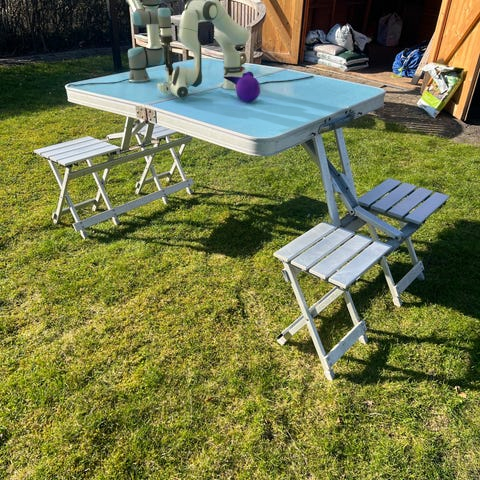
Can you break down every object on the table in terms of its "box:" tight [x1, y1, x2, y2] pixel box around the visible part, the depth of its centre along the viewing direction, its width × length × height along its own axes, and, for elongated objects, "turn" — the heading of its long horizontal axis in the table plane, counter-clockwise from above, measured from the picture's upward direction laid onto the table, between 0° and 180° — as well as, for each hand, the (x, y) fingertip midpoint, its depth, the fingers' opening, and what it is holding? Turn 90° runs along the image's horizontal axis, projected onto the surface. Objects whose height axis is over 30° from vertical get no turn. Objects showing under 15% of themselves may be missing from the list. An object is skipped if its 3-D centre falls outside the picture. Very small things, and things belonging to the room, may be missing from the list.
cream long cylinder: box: [165, 71, 174, 96], centre depth 296 cm, size 4×4×16 cm
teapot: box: [222, 52, 247, 67], centre depth 367 cm, size 21×12×15 cm, turn 120°
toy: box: [223, 71, 261, 103], centre depth 276 cm, size 16×18×27 cm
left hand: (169, 74), depth 294 cm, fingers closed on lid, 5 cm apart
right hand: (170, 83), depth 297 cm, fingers closed on cream long cylinder, 4 cm apart
